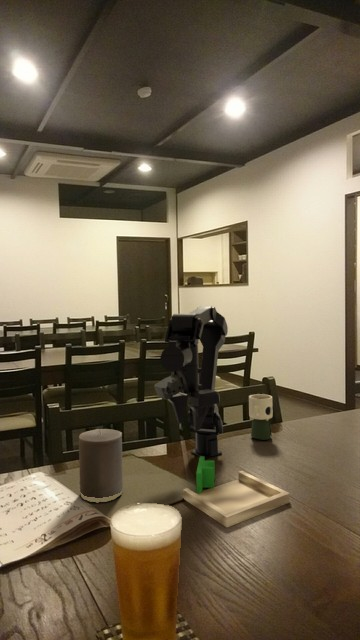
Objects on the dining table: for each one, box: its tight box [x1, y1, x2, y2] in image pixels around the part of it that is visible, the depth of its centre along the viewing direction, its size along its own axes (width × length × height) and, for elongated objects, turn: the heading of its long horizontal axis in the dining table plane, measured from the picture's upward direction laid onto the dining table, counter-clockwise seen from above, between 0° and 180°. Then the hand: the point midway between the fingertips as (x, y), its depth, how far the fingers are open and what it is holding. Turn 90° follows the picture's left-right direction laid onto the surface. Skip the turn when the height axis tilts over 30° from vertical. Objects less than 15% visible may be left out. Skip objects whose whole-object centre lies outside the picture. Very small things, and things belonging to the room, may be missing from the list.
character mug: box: [248, 393, 274, 441], centre depth 136 cm, size 11×7×13 cm, turn 153°
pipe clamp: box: [195, 456, 216, 493], centre depth 105 cm, size 11×4×5 cm, turn 173°
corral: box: [182, 470, 291, 528], centre depth 96 cm, size 15×17×2 cm
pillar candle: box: [78, 428, 124, 498], centre depth 101 cm, size 10×10×15 cm
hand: (188, 426), depth 110 cm, fingers open, 7 cm apart
